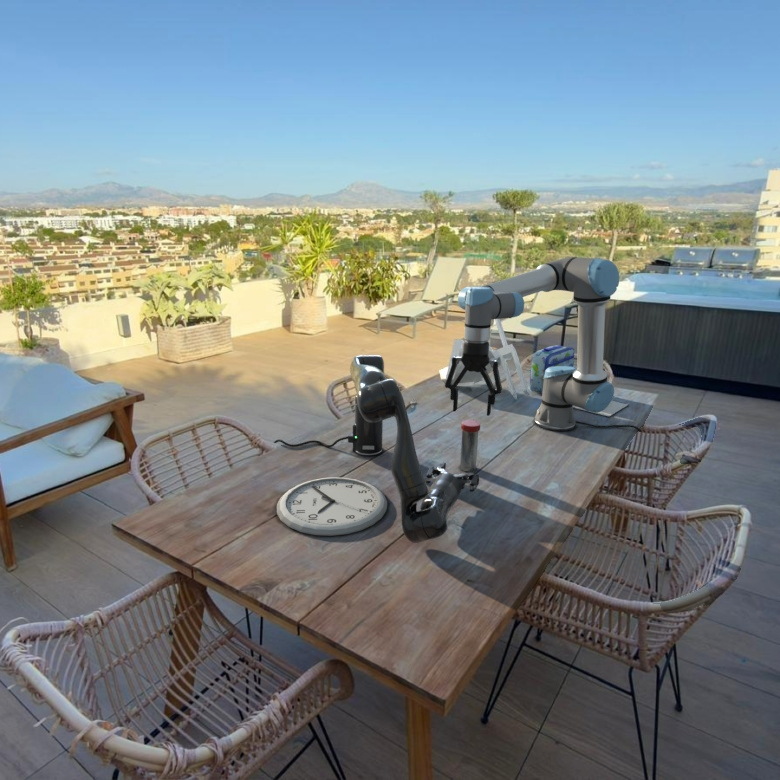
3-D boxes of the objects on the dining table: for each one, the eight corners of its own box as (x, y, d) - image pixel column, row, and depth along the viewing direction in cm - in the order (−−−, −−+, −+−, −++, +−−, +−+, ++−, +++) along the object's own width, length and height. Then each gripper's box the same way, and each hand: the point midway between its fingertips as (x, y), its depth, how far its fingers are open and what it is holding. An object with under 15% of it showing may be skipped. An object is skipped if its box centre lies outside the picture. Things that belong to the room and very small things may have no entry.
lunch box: (546, 398, 236) (551, 353, 229) (525, 393, 243) (529, 349, 237) (573, 387, 253) (579, 344, 247) (553, 382, 260) (558, 341, 254)
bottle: (456, 468, 166) (459, 424, 162) (466, 463, 170) (469, 420, 165) (469, 473, 163) (472, 428, 158) (478, 468, 166) (482, 424, 162)
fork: (400, 411, 216) (400, 406, 215) (412, 399, 230) (412, 395, 230) (406, 412, 215) (406, 407, 215) (418, 400, 230) (418, 396, 229)
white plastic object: (461, 429, 252) (437, 405, 227) (444, 352, 274) (420, 323, 250) (535, 404, 240) (518, 377, 215) (510, 326, 262) (492, 293, 237)
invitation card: (608, 416, 214) (573, 407, 224) (608, 416, 214) (573, 408, 224) (628, 404, 229) (594, 396, 238) (628, 405, 229) (594, 397, 238)
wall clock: (392, 527, 129) (268, 531, 127) (391, 533, 130) (269, 537, 127) (383, 473, 158) (282, 475, 155) (383, 478, 158) (282, 480, 156)
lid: (457, 428, 162) (457, 422, 162) (469, 424, 166) (469, 418, 165) (472, 433, 158) (472, 427, 158) (483, 429, 162) (484, 423, 162)
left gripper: (470, 485, 135) (483, 460, 149) (418, 475, 140) (435, 452, 154) (469, 511, 137) (481, 483, 151) (417, 500, 142) (434, 475, 156)
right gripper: (516, 341, 154) (510, 412, 160) (442, 335, 161) (439, 404, 167) (513, 346, 147) (507, 420, 154) (436, 340, 154) (433, 411, 161)
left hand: (458, 467), depth 153 cm, fingers open, 8 cm apart
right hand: (471, 412), depth 160 cm, fingers open, 10 cm apart
